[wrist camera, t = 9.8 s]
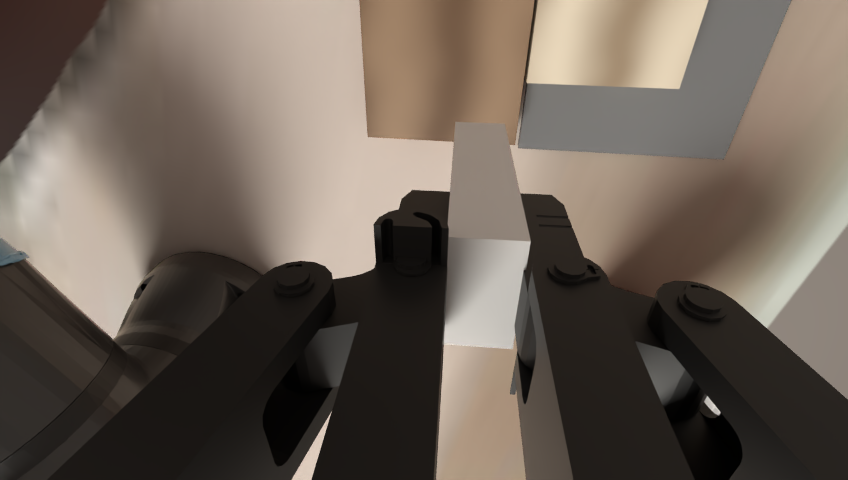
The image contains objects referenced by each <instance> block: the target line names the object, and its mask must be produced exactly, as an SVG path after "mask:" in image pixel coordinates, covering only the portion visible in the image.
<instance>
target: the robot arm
mask: <svg viewBox="0 0 848 480" xmlns="http://www.w3.org/2000/svg"><path fill="white" fill-rule="evenodd" d="M374 238H375V253H376V265H375V268H374V269H372V270H371V271H368V272H366V273H363V274H360V275H356V276H352V277H346V278H339V279H332V273H331V272H330V271H329V270H328V269H327V268H326V267H325V266H323V265H320V264H318V263H315V262H306V261H298V262H291V263H286V264H283V265H280V266H278V267H275V268H273V269H271V270H270V271H268V272H267V273H266V274H264V275H263V276H261V275H260V274H258V273H257V272H255V271H254V270H252V269H250V268H249V267H247V266H245V265H243V264H241V263H239V262H237V261H234V260H232V259H229V258H226V257H223V256H219V255H215V254H209V253H201V252H189V253H181V254H177V255H174V256H171V257H169V258H166V259H165V260H163V261H162V262H160V263H159V264H158V265H157V266H156V267H155V268H154V269H153V270H152V271H151V272H150V273H149V274H148V275H147V276H146V277H145V278H144V279H143V280H142V282H141V283H140V284H139V286H138V288H137V290H136V293H135V295H134V299H133V301H132V303H131V305H130V307H129V309H128V311H127V313H126V315H125V318H124V320H123V322H122V324H121V327H120V329H119V331H118V334H117V336H116V337H115V338H114V339H112V338H111V337H110V336H109V335H108V334H107V333H105V332H104V331H103V330H102V329H101V328H100V327H99V326H98V325H97V324H96V323H94V322H93V321H92V320H91V319H90V318H89V317H88V316H87V315H86V314H85V313H83V312H82V311H81V310H80V309H79V308H78V307H77V306H76V305H75V304H73V303H72V302H71V301H70V300H69V299H68V298H67V297H66V296H65V295H64V294H62V293H61V292H60V291H59V290H58V289H57V288H56V287H55V286H54V285H53V284H52V283H51V282H49V281H48V280H47V279H46V278H45V277H44V276H43V275H42V274H41V273H40V272H39V271H38V270H37V269H36V268H35V267H34V266H32V265H31V264H30V263H29V262H28V261H27V260H26V258H29V256H28V255H27V254H26V253H25V252H22V251H17V250H16V249H15V248H14V247H12V246H11V245H10V244H9V243H8V242H6V241H5V240H4V239H3V238H2V237H0V480H291V479H292V478H293V476H294V474H295V473H296V471H297V469H298V467H299V466H300V464H301V462H302V461H303V459H304V457H305V455H306V454H307V452H308V450H309V449H310V447H311V445H312V444H313V442H314V440H315V438H316V437H317V435H318V433H319V432H320V430H321V428H322V426H323V425H324V423H325V421H326V420H327V418H328V416H329V415H330V413H331V411H332V413H331V416H330V419H329V423H328V426H327V430H326V433H325V436H324V440H323V443H322V446H321V450H320V453H319V456H318V460H317V463H316V467H315V470H314V473H313V477H312V480H436V469H437V452H438V435H439V419H440V402H441V385H442V368H443V347H444V344H446V345H461V346H475V347H490V348H504V349H513V344H514V338H515V334H516V342H517V355H516V361H515V366H514V372H513V378H512V383H511V390H510V394H515V393H516V390H517V399H518V408H519V418H520V427H521V436H522V445H523V455H524V464H525V473H526V480H848V400H847V399H846V398H845V397H844V396H843V395H842V394H841V393H840V392H838V391H837V390H836V389H835V388H834V387H833V386H832V385H830V384H829V383H828V382H827V381H826V380H825V379H824V378H822V377H821V376H820V375H819V374H818V373H817V372H816V371H815V370H813V369H812V368H811V367H810V366H809V365H808V364H807V363H805V362H804V361H803V360H802V359H801V358H800V357H799V356H797V355H796V354H795V353H794V352H793V351H792V350H791V349H790V348H788V347H787V346H786V345H785V344H784V343H783V342H782V341H780V340H779V339H778V338H777V337H776V336H775V335H774V334H772V333H771V332H770V331H769V330H768V329H767V328H766V327H765V326H763V325H762V324H761V323H760V322H759V321H758V320H757V319H755V318H754V317H753V316H752V315H751V314H750V313H749V312H747V311H746V310H745V309H744V308H743V307H742V306H741V305H740V304H738V303H737V302H736V301H734V300H733V299H732V298H730V297H729V296H727V295H726V294H724V293H723V292H721V291H718V290H716V289H714V288H711V287H710V286H707V285H704V284H699V283H695V282H690V281H673V282H669V283H665V284H663V285H662V286H661V287H660V288H659V289H658V290H657V292H656V295H655V297H654V298H652V297H648V296H644V295H640V294H636V293H633V292H629V291H625V290H622V289H619V288H616V287H614V286H612V285H610V282H609V280H608V278H607V275H606V274H605V273H604V271H603V270H602V269H601V267H600V266H598V265H597V264H595V263H594V262H592V261H591V260H589V259H587V258H584V256H583V254H582V251H581V248H580V246H579V243H578V241H577V238H576V235H575V233H574V230H573V228H572V225H571V223H570V220H569V219H568V215H567V212H566V210H565V207H564V205H563V204H562V203H561V202H559V201H558V200H557V199H556V198H555V197H553V196H552V195H541V194H520V190H519V186H518V181H517V177H516V172H515V168H514V163H513V159H512V154H511V149H510V145H509V140H508V136H507V131H506V127H505V124H500V123H471V122H455V135H454V148H453V161H452V174H451V187H450V192H442V191H420V190H412V191H411V192H410V193H408V194H407V195H406V196H405V197H404V198H402V200H401V204H400V207H399V210H395V211H391V212H388V213H386V214H384V215H383V216H381V217H379V218H378V219H377V221H376V222H375V223H374ZM707 396H708V397H709V399H710V400H711V401H712V402H713V404H714V405H715V406H716V407H717V408H718V410H719V411H720V412H721V413H720V414H719V415H717V414H715V413H714V412H713V411H712V410H711V409H710V408H709V407H708V406H707V405H706V404H705V402H704V401H705V399H706V398H707Z"/></svg>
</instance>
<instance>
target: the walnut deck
mask: <svg viewBox="0 0 848 480" xmlns="http://www.w3.org/2000/svg"><path fill="white" fill-rule="evenodd" d="M359 1H360V18H361V34H362V51H363V67H364V84H365V100H366V116H367V133H368V137H378V138H397V139H415V140H434V141H452V142H454V135H455V122H471V123H500V124H505V127H506V131H507V136H508V140H509V145H515V140H516V133H517V126H518V118H519V111H520V104H521V96H522V89H523V82H524V74H525V67H526V60H527V52H528V45H529V38H530V30H531V23H532V16H533V8H534V1H535V0H359Z"/></svg>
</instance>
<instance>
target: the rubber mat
mask: <svg viewBox="0 0 848 480" xmlns="http://www.w3.org/2000/svg"><path fill="white" fill-rule="evenodd" d="M790 2H791V0H708V3H707V6H706V10H705V13H704V16H703V19H702V22H701V25H700V28H699V31H698V34H697V37H696V40H695V43H694V46H693V49H692V52H691V55H690V58H689V61H688V64H687V67H686V70H685V73H684V76H683V79H682V82H681V85H680V88H679V89H664V88H639V87H613V86H588V85H562V84H536V83H527V85H526V92H525V99H524V106H523V113H522V120H521V127H520V135H519V142H518V148H523V149H542V150H560V151H579V152H597V153H615V154H634V155H652V156H670V157H689V158H707V159H724V158H725V155H726V153H727V151H728V148H729V146H730V144H731V141H732V139H733V136H734V134H735V132H736V129H737V127H738V125H739V122H740V120H741V118H742V115H743V113H744V111H745V108H746V106H747V104H748V101H749V99H750V96H751V94H752V92H753V89H754V87H755V85H756V82H757V80H758V78H759V75H760V73H761V71H762V68H763V66H764V64H765V61H766V59H767V56H768V54H769V52H770V49H771V47H772V45H773V42H774V40H775V38H776V35H777V33H778V31H779V28H780V26H781V24H782V21H783V19H784V17H785V14H786V12H787V9H788V7H789V5H790Z"/></svg>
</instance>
